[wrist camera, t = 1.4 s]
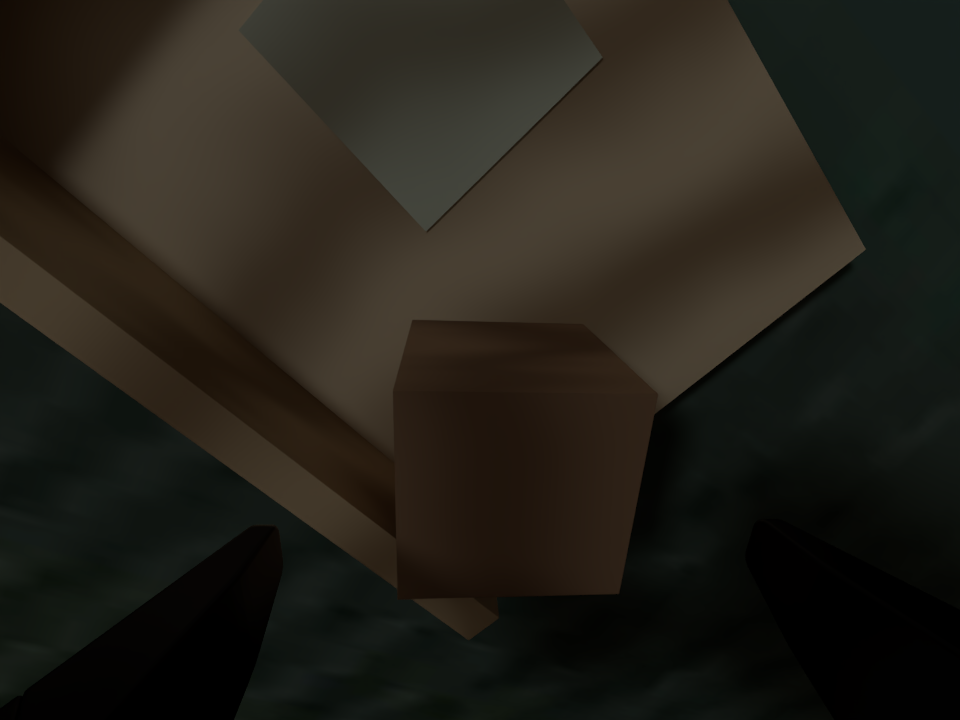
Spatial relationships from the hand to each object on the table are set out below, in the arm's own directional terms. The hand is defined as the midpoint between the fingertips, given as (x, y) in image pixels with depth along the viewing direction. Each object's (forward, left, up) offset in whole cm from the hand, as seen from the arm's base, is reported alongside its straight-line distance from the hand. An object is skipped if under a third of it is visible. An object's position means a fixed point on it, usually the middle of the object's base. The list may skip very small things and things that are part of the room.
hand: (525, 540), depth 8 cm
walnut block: (0, 0, -6) cm, 6 cm away
